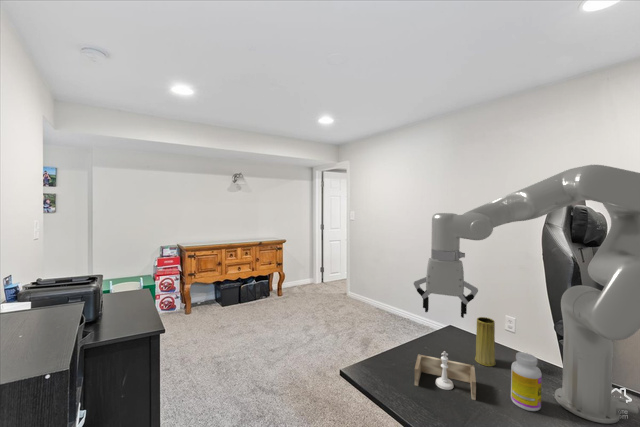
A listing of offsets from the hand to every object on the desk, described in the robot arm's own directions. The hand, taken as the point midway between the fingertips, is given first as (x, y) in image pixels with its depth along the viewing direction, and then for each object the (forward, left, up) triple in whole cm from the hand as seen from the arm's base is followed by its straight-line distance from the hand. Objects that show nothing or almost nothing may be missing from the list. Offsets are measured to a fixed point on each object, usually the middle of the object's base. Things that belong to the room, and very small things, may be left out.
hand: (444, 313), depth 86 cm
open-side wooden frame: (0, 0, -21) cm, 21 cm away
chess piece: (0, 0, -22) cm, 22 cm away
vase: (-12, -19, -22) cm, 31 cm away
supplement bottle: (-20, 0, -22) cm, 30 cm away
